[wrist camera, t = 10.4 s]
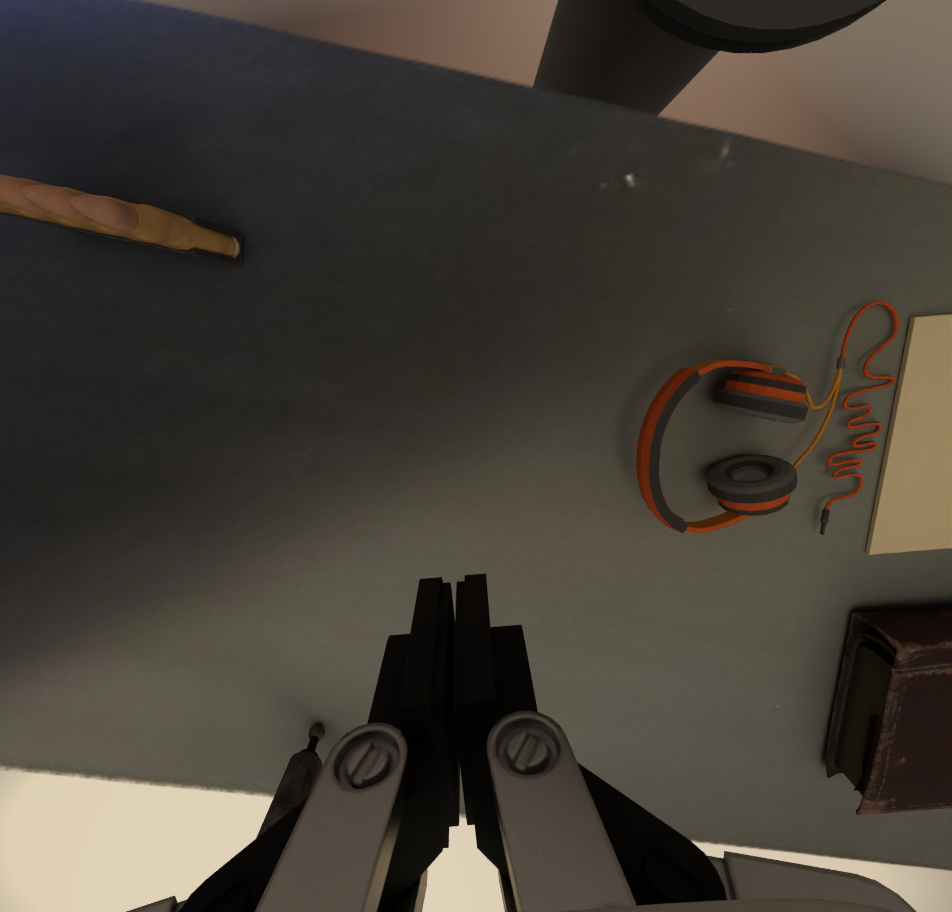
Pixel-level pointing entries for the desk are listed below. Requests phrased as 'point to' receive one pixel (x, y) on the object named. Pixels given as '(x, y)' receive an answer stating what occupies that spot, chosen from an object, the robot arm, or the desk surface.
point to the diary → (895, 711)
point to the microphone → (296, 780)
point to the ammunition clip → (118, 219)
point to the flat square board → (918, 447)
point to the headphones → (750, 476)
